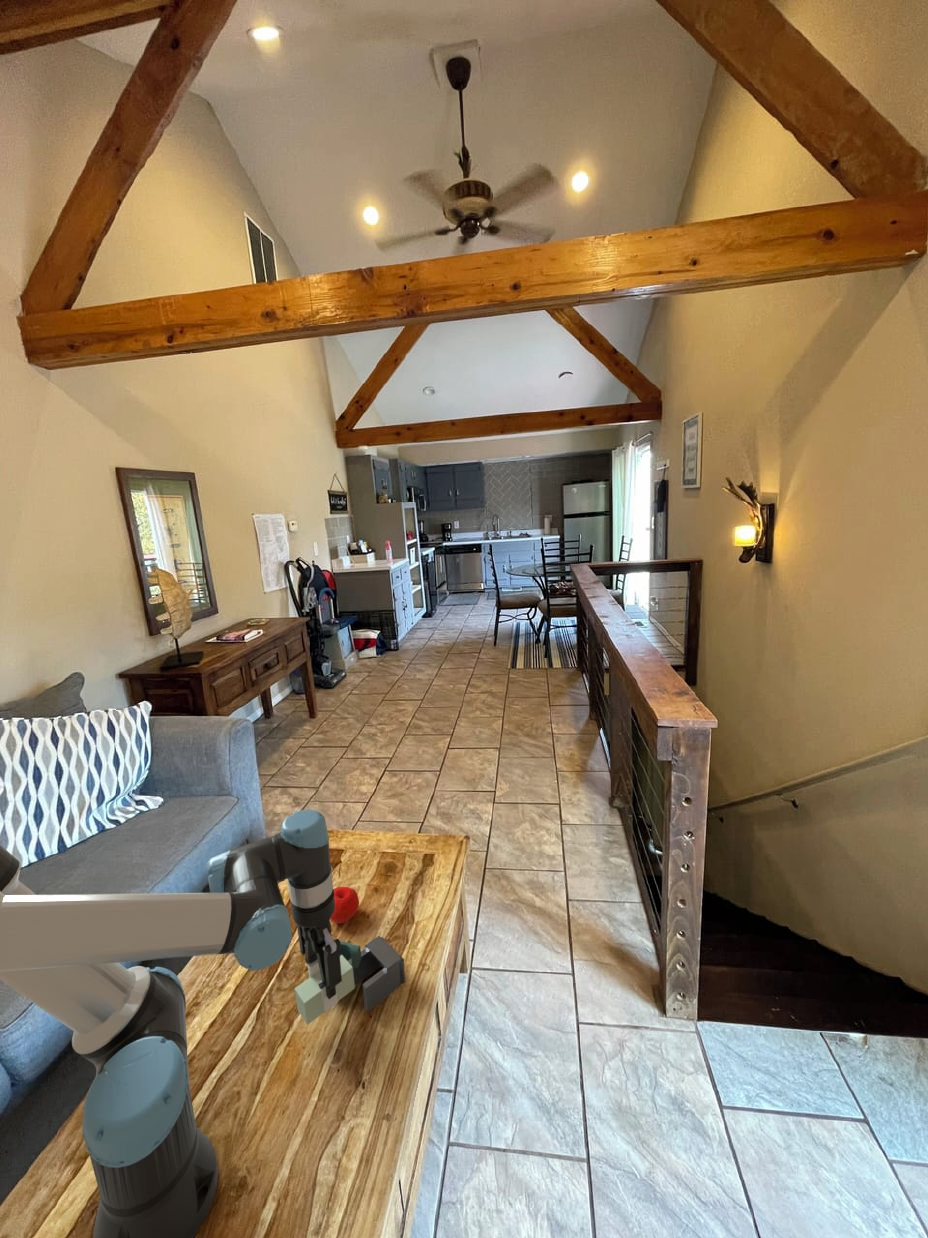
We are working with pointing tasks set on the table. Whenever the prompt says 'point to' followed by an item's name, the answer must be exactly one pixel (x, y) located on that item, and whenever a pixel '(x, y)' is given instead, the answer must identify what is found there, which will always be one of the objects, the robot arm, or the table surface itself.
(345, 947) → the bracket
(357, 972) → the endcap
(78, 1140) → the table surface
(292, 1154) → the table surface
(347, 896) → the apple
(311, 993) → the block
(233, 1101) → the table surface
